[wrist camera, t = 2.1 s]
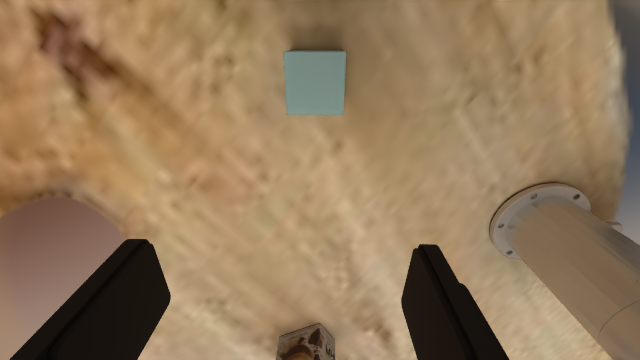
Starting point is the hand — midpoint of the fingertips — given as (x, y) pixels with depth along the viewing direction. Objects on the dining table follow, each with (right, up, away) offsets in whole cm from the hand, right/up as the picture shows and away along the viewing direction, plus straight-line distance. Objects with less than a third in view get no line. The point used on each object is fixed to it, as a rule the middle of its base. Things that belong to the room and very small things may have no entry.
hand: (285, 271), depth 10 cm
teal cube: (+1, +15, +20) cm, 25 cm away
